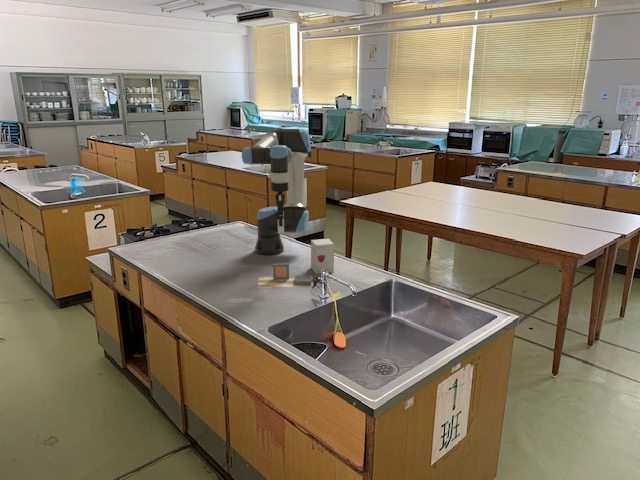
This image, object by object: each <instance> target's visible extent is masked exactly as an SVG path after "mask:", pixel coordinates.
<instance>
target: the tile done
mask: <svg viewBox="0 0 640 480" xmlns="http://www.w3.org/2000/svg"><path fill="white" fill-rule="evenodd" d="M311 275H312V274H311ZM311 275H310V274H307V275H305V274H303V276H301V275H294V276H295V285H306V284H311Z"/></svg>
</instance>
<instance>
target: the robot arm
mask: <svg viewBox="0 0 640 480" xmlns="http://www.w3.org/2000/svg"><path fill="white" fill-rule="evenodd" d="M309 133H310V132H309V130H307V129H304V128H277V129H273V130H270V131H267V132H266V133H264V134H262V136H261V138H260V140H258V142H256V143H255V145H253V146H251V147H250V146H246V147H243V148H242V151H241V159H242V163H243V164H244V165H270V174H269V177H270V181H271V183H270V185H271V186H270V188H271V189H270V190H271V191H272V192H276V193H275V203H276V206H268V207H267V206H266V207H263V208H260V209H259V210H257V213H256V222H257V223H256V224H257V240H256V243H255V246H254V250H255V251H254V252H255V253H256V254H258V255H262V256H263V255H264V256H273V255H274V256H275V255H279V254H281V253H283V252H284V251H285V250H284V244H283V241H282V238H281V234H285V233H287V234H289V233H290V234H303V233H305V232H306V231H307V228H308V225H309V219H310V212H309V210H307V207H306V205H305V204H304V194H305V191H304V190H305V161H306V160H305V159H306V158H307V157H308V154H309V153H311V151H312V150H311V149H312V147H311V146H312V145H311V138H310V137H311V136H310V134H309ZM283 192H286V196H285V193H283ZM285 198H286V204H285Z"/></svg>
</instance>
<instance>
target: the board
mask: <svg viewBox="0 0 640 480" xmlns="http://www.w3.org/2000/svg"><path fill="white" fill-rule="evenodd" d="M303 275H304V274H303ZM303 275H301V274H300V276H303ZM295 276H296V275H289V279H278V280H273V275H270V276H267V275H266V276H264V275H263V276H259V277H258V282H257V289H292V288H314V287H313V285H314V278H313V275H312V274H311V284H306V285H295Z"/></svg>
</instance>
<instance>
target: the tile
mask: <svg viewBox="0 0 640 480" xmlns="http://www.w3.org/2000/svg"><path fill="white" fill-rule="evenodd" d="M272 276H273V280H278V279H289V276H290V263H289V262H286V263H282V262H281V263H280V262H279V263H272Z"/></svg>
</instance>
